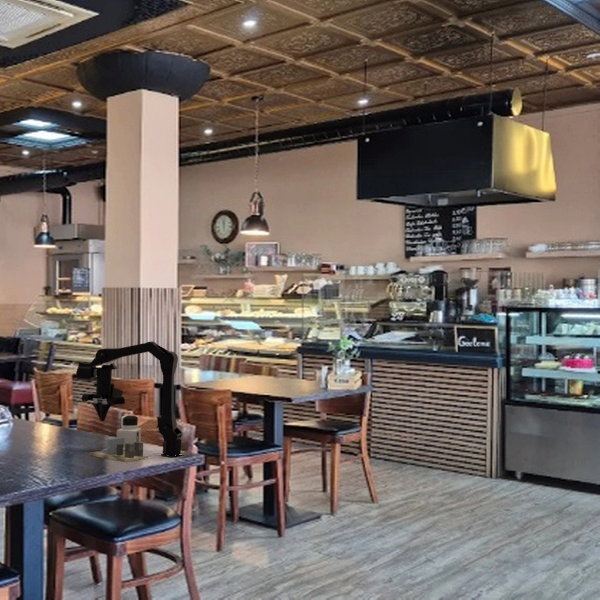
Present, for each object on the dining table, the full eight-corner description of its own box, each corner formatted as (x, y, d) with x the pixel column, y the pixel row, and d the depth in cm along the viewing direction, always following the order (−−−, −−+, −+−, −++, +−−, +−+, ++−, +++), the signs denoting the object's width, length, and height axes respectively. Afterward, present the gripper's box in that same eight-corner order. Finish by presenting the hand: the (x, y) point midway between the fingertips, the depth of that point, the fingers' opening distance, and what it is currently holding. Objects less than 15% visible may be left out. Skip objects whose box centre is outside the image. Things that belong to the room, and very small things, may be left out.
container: (140, 447, 322) (141, 415, 323) (134, 450, 315) (136, 417, 315) (122, 446, 323) (123, 414, 323) (115, 449, 315) (117, 416, 316)
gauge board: (148, 458, 298) (148, 442, 298) (126, 461, 289) (126, 445, 289) (111, 451, 309) (112, 436, 309) (89, 455, 300) (90, 439, 300)
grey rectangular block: (135, 453, 299) (135, 439, 299) (116, 456, 291) (116, 441, 292) (120, 451, 304) (121, 436, 304) (101, 454, 296) (102, 439, 296)
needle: (122, 455, 292) (123, 444, 292) (119, 455, 291) (119, 444, 291) (119, 454, 293) (120, 443, 293) (116, 455, 292) (116, 444, 292)
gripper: (136, 381, 309) (134, 421, 309) (103, 378, 320) (102, 417, 320) (114, 382, 300) (112, 424, 300) (81, 379, 311) (80, 419, 310)
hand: (102, 421), depth 308 cm, fingers closed
